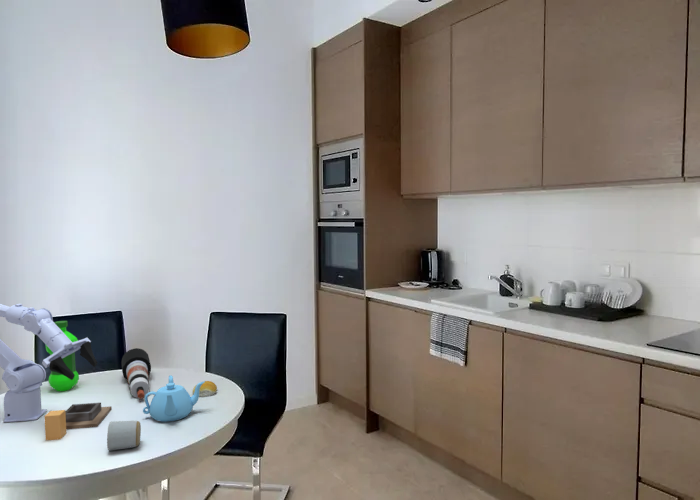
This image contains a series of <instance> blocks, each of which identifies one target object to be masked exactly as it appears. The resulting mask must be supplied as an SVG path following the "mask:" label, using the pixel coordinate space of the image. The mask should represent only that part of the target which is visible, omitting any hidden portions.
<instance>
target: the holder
mask: <svg viewBox="0 0 700 500" xmlns="http://www.w3.org/2000/svg"><path fill="white" fill-rule="evenodd" d="M111 411H112V406H110V405H109V406H102V402H90V403H89V402H87V403H74V404H72V405H70V406H69V407H68V408H67V409H65V414H66V430H74V429H75V430H76V429H87V428H88V429H89V428H98V427H99V425H100V424H101V423H102V421H103V420H104V419H105V418H106V417H107V416H108V415H109V413H110V412H111Z"/></svg>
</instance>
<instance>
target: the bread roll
mask: <svg viewBox="0 0 700 500" xmlns="http://www.w3.org/2000/svg"><path fill="white" fill-rule="evenodd" d="M204 381H205V382H204V383H203V384H202V385H201V387H200V390H199V398H203V397H204V398H206V397H210V396H213V395H215V394H216V393H217V388H218V387H217V385H216V384H215V382H213V381H212V380H211V381H210V380H204ZM195 387H196V385H195V386H193V389H192V395H194V393H195Z"/></svg>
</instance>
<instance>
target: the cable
mask: <svg viewBox="0 0 700 500" xmlns="http://www.w3.org/2000/svg"><path fill="white" fill-rule="evenodd" d="M151 371H152V365H151V361H150V356H149V354H148V353H147V351H145V350H144V349H142V348H135V347H134V348H132V349H129V350H127V351H126V352H125V353H124V354H123V355H122V358H121V372H122V375H123V378H124V379H125V380H126V381H127V384H128V385H129V390H130V394H131V395H132V397H134V398H136V399H139V400H142V399H145V395H146V394H147V393H149V392H150V383H149V381H150V380H149V379H150V378H149V376H150V374H151Z"/></svg>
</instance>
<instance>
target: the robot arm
mask: <svg viewBox="0 0 700 500" xmlns="http://www.w3.org/2000/svg"><path fill="white" fill-rule="evenodd" d="M0 317H2V318H5V320H6V321H7V322H8V323H11V324H15V325H19V326H23V329H24V330H26V331H27V332H31V333H33V335H36V336H37V337H38V338H39V339H40V340H41V341H42V342H43V343H44V345H45V344H46V345H47V347H48V348H49V349H50V350H51V351H52V352H53V354H52V355H50V354H49V356H47V357H46V358H43V360H42V361H41V362H42V363H41V364H39V363H36V362H34V361H33V360H30V359H24V358H22V357H20V356H19V355H18V354H17V353H16V352H15V351H14V350H13V349H12V348H11V347H10V346H8V344H7V343H5V342H4V341H3V340H2V339H1V338H0V368H1V369H2V370H3V373H2V376H1V380H3V382H4V383H5V385H6V387H7V389H8V390H7V391H6V392H5V394H4V396H3V413H4V419H3V423H13V422H24V421H25V422H26V421H37V420H38V419H40V418H41V416H43V415H44V414H45V413H46V412H47V411H48V409H46V408H45V409H44V408H43V409H42V393H41V391H42V390H41V387H42V386H43V382H45V379H46V377H47V373H46V370H45V369H47V368H49V370H50V372H51V371H53V372H57V373H60V374H62V375H64V376H66V377H68V378H69V379H71V380H72V379H74V376H75V375H74V373H73V372H72V371H71V370H70V369H69V368H68V367H67V365H66V364H65V363H64V361H63V359H62V358H64V357H66V356H68V355H70V354H72V353H73V352H75V353H76V352H77V351H79V352H80V353H79V356H81V357H82V358H84V359H85V360H86V361H87V362H88V363H89V364H90V365H91V366H92V367H93V368H95V367H97V365H98V361H97V359H96V358H95V357H96V356H95V355H94V352H93V349H92V344H91V342H92V340H90V339H89V338H88V337H85V338H82V339H78V341H76V342H72V341H71V340H70V339H69V338H68V337H67V336H66V335H65V334H64V333H63V332H62V331H61V329H60V328H59V327H58V326H57V325H56V324H55V323H54V322H55V321H54V319H53V314H52V312H51V311H50V310H48V309H47V308H44V307H43V308H40V309H35V307H33V306H30V307H26V306H24V305H23V303H16V304H13V305H11V306H9V305H5V304H2V303H0Z"/></svg>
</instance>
